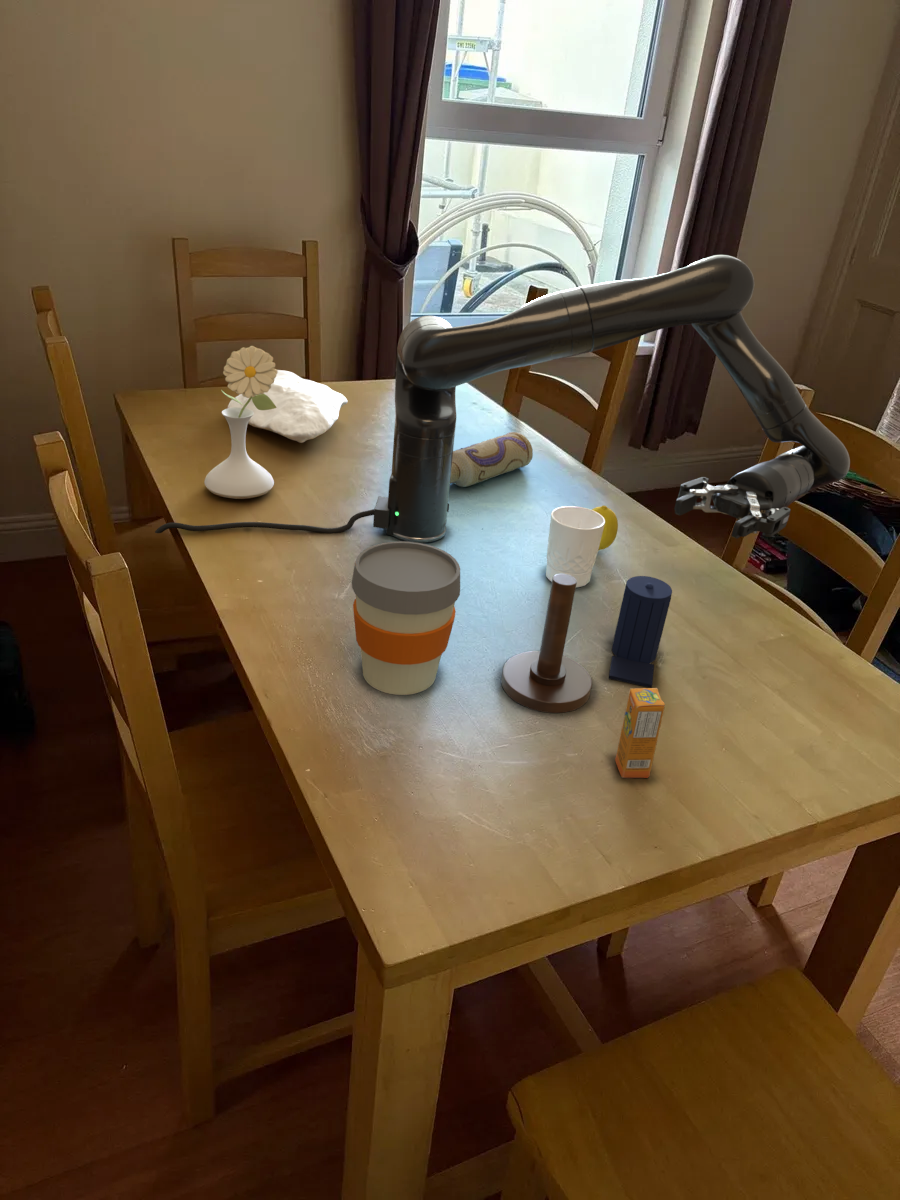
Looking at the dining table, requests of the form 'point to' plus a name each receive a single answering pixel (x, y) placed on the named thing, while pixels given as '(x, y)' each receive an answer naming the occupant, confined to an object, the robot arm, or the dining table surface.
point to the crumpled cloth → (296, 407)
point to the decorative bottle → (490, 459)
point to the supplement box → (639, 733)
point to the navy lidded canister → (639, 630)
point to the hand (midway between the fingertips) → (706, 519)
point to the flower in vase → (244, 426)
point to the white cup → (573, 542)
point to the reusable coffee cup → (403, 613)
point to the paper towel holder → (550, 661)
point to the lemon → (607, 526)
